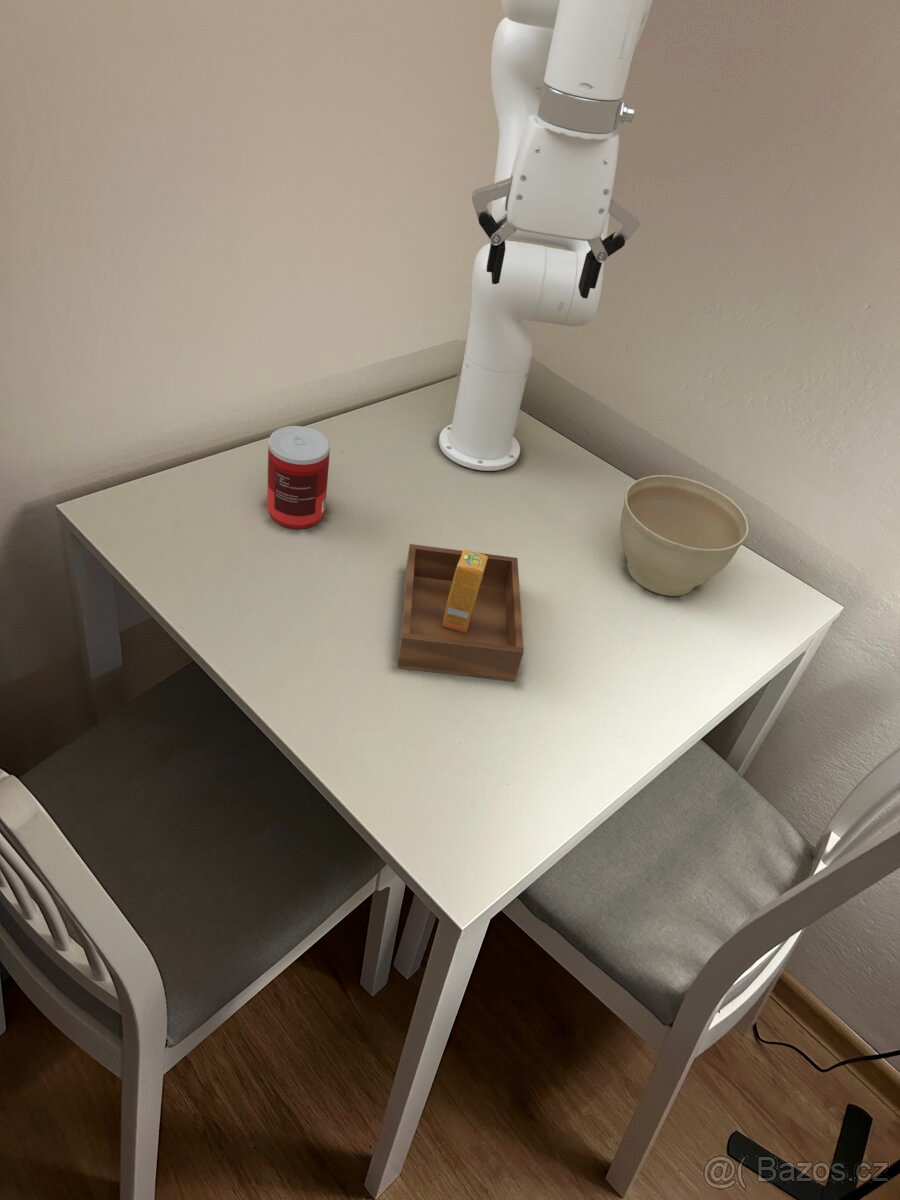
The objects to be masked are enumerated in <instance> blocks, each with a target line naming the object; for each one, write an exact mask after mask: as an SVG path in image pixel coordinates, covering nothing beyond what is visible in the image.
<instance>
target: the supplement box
mask: <svg viewBox="0 0 900 1200" xmlns="http://www.w3.org/2000/svg"><path fill="white" fill-rule="evenodd" d="M461 551H462V554H461V557H460V560H459V563H458V565H457V568H456V571H455V575H454V578H453V582H452V586H451V589H450V593H449V597H448V601H447V605H446V609H445V613H444V617H443V622H442V627H444V628H448V629H451V630H455V631H459V632H463V633H467V630H468V627H469V624H470V621H471V617H472V613H473V609H474V606H475V602H476V598H477V595H478V591H479V588H480V584H481V581H482V577H483V574H484V570H485V567H486V563H487V560H488V556H486V555H483V554H480V553H481V552H477V551H473V550H470V549H466V548H463V549H462V550H461Z"/></svg>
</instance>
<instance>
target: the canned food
mask: <svg viewBox="0 0 900 1200" xmlns="http://www.w3.org/2000/svg"><path fill="white" fill-rule="evenodd" d="M267 447H268V448H267V449H268V450H267V491H266V492H267V494H266V495H267V497H266V499H267V500H266V501H267V502H266V503H267V504H266V506H267V510H268V514H269V516H270V518H271V519H272V520H273V521H274V522H275V523H277V524H279V525H280V526H283V527H286V528H288V529H293V530H294V529H295V530H302V529H309V528H311V527H314V526H316V525H318V524H319V523H320V522H321V521H322V519H323V517H324V515H325V512H326V504H327V494H328V493H327V491H328V480H329V479H328V478H329V468H330V467H329V465H330V451H331V450H330V449H331V448H330V447H331V446H330V441H329V439H328V438H327V436H326V435H325V434H324V433H322V432H320V431H318V430H316V429H314V428H311V427H308V426H304V425H303V426H302V425H290V426H283V427H280V428H278V429H276V430H275V431H273V432H272V433H271V434H270V436H269V439H268V445H267Z"/></svg>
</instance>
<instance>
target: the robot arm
mask: <svg viewBox="0 0 900 1200" xmlns="http://www.w3.org/2000/svg"><path fill="white" fill-rule="evenodd" d="M653 1H654V0H500V4H501V8H502V12H503V14H504V18H502V19H501V21H500V22H499V23H498V25H497V27H496V29H495V32H494V36H493V40H492V45H491V46H492V47H491V56H490V83H491V93H492V100H493V105H494V110H495V115H496V119H497V126H498V146H497V154H496V160H495V161H496V162H495V170H494V177H493V178H494V180H493V183H491V184H488V185H486V186H485V185H484V186H483V187H480V188H477V189H474V190H473V191H472V193H471V201H472V204H473V208H474V211H475V214H476V217H477V220H478V224H479V226H480V227H481V229H482V230H483V231H484V233H485V234H486V236H487V237H488V239H489V240H490V242H488V243H486V244H485V245H483V246H482V247H481V248H480V249H479V250H478V252H477V253H476V256H475V258H474V262H473V265H472V274H471V299H470V300H471V303H470V316H469V325H468V331H467V338H466V343H465V349H464V355H463V360H462V366H461V372H460V378H459V383H458V389H457V395H456V400H455V404H454V411H453V417H452V423H450V424H448V425H447V426H445V427H444V428H443V429H442V430H441V431H440V433H439V437H438V445H439V448H440V450H441V451H442V453H443V454H444V455H445V456H446V457H447V458H448V459H449V460H451V461H452V462H454V463H455V464H458V465H460V466H462V467H464V468H468V469H471V470H476V471H483V472H496V471H501V470H504V469H507V468H510V467H511V466H513V465H514V464H516V463H517V461H518V460H519V457H520V454H521V445H520V443H519V441H518V439H517V438H516V437H515V436H514V435H515V431H516V426H517V422H518V418H519V414H520V410H521V404H522V401H523V397H524V393H525V389H526V384H527V379H528V375H529V370H530V366H531V362H532V361H531V360H532V357H533V342H532V339H531V335H530V333H529V331H528V329H527V327H526V325H525V324H524V322H523V321H531V322H541V323H547V324H553V325H560V326H566V327H582V326H585V325H587V324H589V323H591V321H592V320H593V319H594V317H595V316H596V313H597V310H598V308H599V304H600V300H601V295H602V288H603V279H604V270H605V262H606V261H607V260H608V259H609V257H610V256H612V255H613V254H615V253H616V252H617V251H619V250H621V249H622V248H623V247H624V246H625V245H626V242H627V241H628V240H629V239H630V238H631V237H632V236H633V235H634V234H635V232H637V230H638V229H639V227H640V225H641V224H640V223H641V222H640V220H639V218H638V217H637V216H636V215H635V214H634V213H633V212H632V211H630V210H629V209H628V208H627V207H626V206H625V205H623V204H622V203H621V202H620V201H618V199H616V198H615V197H614V196H613V189H614V183H615V179H616V178H615V177H616V172H617V166H618V157H619V148H620V147H619V146H620V134H619V132H618V130H617V127H618V126H620V124H623V123H629V124H632V123H633V119H634V115H635V106H629V105H628V104H627V103H625V102H624V99H623V96H624V93H625V88H626V85H627V81H628V77H629V72H630V68H631V66H632V65H631V64H632V61H633V56H634V52H635V50H636V48H637V46H638V44H639V41H640V39H641V36H642V34H643V31H644V28H645V27H646V23H647V21H648V18H649V14H650V12H651V7H652V5H653ZM538 90H541V93H540V94H539V92H538ZM489 203H491V213H490V210H489V207H488V205H489ZM610 216H612V217H613V218H614V219H615V220H617V221H618V222H619V223H620V226H619V227H618V228H617V230H616V231H614V232H613V233H611V234H610V235H608V232H609V225H610ZM508 238H510V239H515V240H516V241H515V240H514V241H513V240H507V239H508ZM517 240H518V241H517ZM521 241H522V242H521ZM523 241H525V242H523ZM528 242H530V243H528ZM540 244H542V245H540ZM545 245H548V246H545ZM549 246H554V247H549ZM556 247H560V248H556ZM562 248H563V249H562Z"/></svg>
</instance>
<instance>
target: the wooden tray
mask: <svg viewBox="0 0 900 1200" xmlns="http://www.w3.org/2000/svg"><path fill="white" fill-rule="evenodd" d="M462 551H463V550H459V549H451V548H446V547H445V548H444V547H436V546H430V545H421V544H413V543H410V544H409V546H408V551H407V552H408V553H407V559H406V564H405V565H406V566H405V571H404V582H403V591H402V592H403V593H402V594H403V595H402V607H401V617H400V630H399V642H398V643H399V644H398V655H397V666H396V667H397V669H403V670H404V669H405V670H413V671H420V672H430V673H436V674H437V673H438V674H439V673H440V674H447V675H455V676H463V677H472V678H480V679H489V680H496V681H497V680H498V681H504V682H505V681H506V682H516V679H517V676H518V672H519V669H520V665H521V662H522V659H523V655H524V638H523V624H522V607H521V594H520V593H521V592H520V591H521V590H520V576H519V561H518V557H514V556H506V555H499V554H491V553H482V552H479V553H480V554H483V555H486V556H488V560H487V563H486V567H485V570H484V574H483V577H482V581H481V584H480V588H479V591H478V595H477V598H476V602H475V606H474V609H473V613H472V617H471V621H470V624H469V627H468V630H467V633H463V632H459V631H455V630H451V629H448V628H444V627H442V622H443V617H444V613H445V609H446V605H447V601H448V597H449V593H450V589H451V586H452V582H453V578H454V575H455V571H456V568H457V565H458V563H459V560H460V557H461V554H462Z"/></svg>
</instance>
